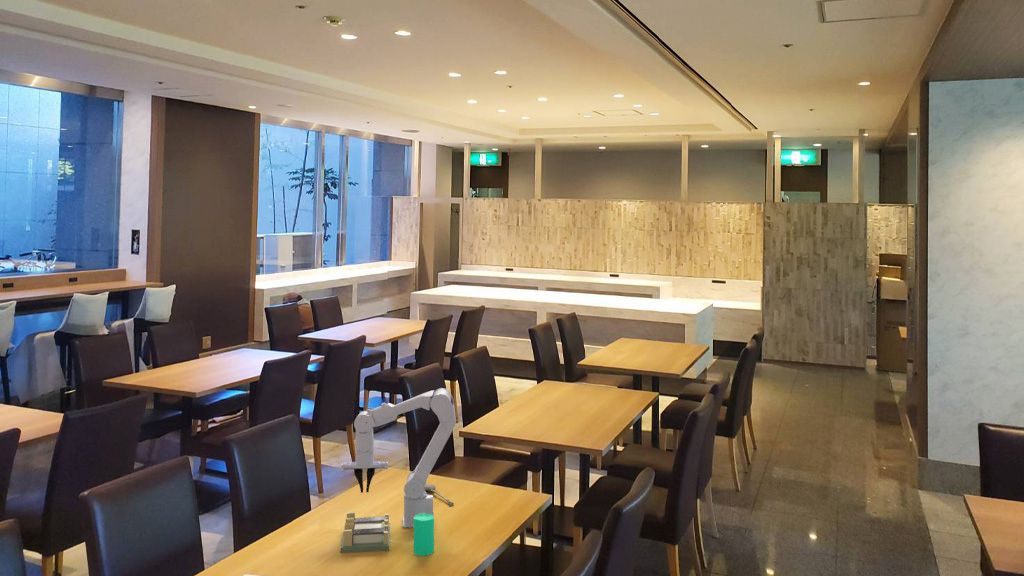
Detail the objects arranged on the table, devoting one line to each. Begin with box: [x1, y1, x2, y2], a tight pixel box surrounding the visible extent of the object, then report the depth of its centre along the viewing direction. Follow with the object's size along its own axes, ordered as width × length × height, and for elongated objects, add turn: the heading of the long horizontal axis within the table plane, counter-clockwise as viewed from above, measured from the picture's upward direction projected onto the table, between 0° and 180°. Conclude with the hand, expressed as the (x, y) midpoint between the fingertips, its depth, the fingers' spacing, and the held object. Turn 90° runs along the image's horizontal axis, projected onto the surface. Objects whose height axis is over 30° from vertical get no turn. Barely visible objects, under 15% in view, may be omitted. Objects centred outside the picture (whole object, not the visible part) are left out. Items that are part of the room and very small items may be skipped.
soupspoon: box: [424, 483, 455, 507], centre depth 266 cm, size 22×3×7 cm
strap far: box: [354, 515, 388, 524], centre depth 232 cm, size 11×3×1 cm, turn 98°
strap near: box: [352, 527, 388, 536], centre depth 224 cm, size 11×3×1 cm, turn 98°
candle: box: [413, 513, 435, 557], centre depth 220 cm, size 6×6×12 cm
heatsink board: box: [340, 511, 391, 554], centre depth 228 cm, size 14×17×6 cm
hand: (364, 491), depth 240 cm, fingers closed
